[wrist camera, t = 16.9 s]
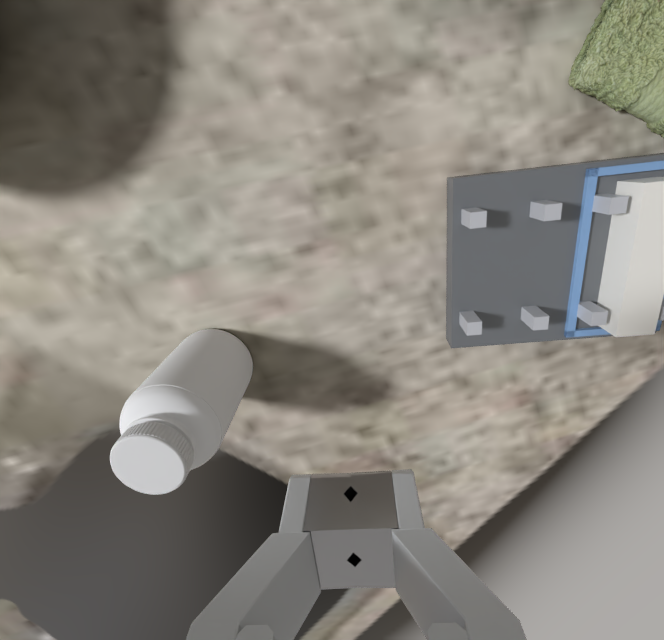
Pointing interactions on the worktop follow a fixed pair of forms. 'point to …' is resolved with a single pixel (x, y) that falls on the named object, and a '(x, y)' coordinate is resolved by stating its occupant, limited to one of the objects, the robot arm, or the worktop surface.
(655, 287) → the bar
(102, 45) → the worktop surface
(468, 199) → the board
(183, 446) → the pill bottle
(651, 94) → the washcloth
